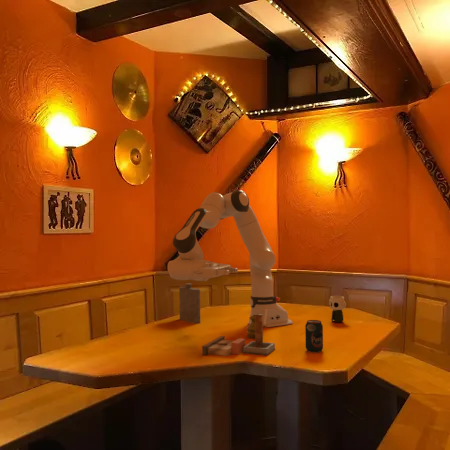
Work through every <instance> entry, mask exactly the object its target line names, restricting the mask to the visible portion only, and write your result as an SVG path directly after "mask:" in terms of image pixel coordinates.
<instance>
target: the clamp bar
mask: <svg viewBox="0 0 450 450" xmlns="http://www.w3.org/2000/svg"><path fill="white" fill-rule="evenodd" d="M221 340H226V339H225V336H224V335H220V336H219V337H217V338H214V339H212V340H210V341H209V342H207V343H205V344H203V345H202V346H201V347H202V349H201V350H202V356H207V355H209V354H208V348H209V347H211V346H212V345H214V344H216V343H218V342H220V341H221Z"/></svg>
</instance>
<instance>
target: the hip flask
mask: <svg viewBox="0 0 450 450" xmlns="http://www.w3.org/2000/svg"><path fill="white" fill-rule="evenodd" d="M192 285H193V283H190V282H189V283H184V286H179V289H178V291H179V293H178V294H179V321H182V322H186V323H190V324H201V289H200V288H194V287H192Z"/></svg>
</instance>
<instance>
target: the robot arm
mask: <svg viewBox="0 0 450 450" xmlns="http://www.w3.org/2000/svg"><path fill="white" fill-rule="evenodd" d="M230 217H233V218H234V221H235V225H236V228H237V230H238V233H239V235H240V237H241V239H242V242H243V244H244V245H245V247H246V249H247V251H248V253H249V255H248V260H249V261H248V263H249V270H250V271H249V273H250V283H251V284H250V285H251V287H250V288H251V295H250V301H249V302H250V316H252V315H255V314H262V315H263V327H266V328H271V327H278V326H280V327H281V326H288V325H293V324H294V323H293V320H291V319H289V314H288V311H287V310H286V309H284V307H282V306H281V305H279V304H278V303H277V302H279V301H280V300H281V297H278V296H275V295H274V279H273V276H272V275H273V274H272V268H273V267H274V265H276V264H275V263H276V256H275V253H274V251H273V250H272V249H273V248H272V247H271V245H270V243H269V241H268V240H267V237H266V236H265V234H264V232H263V230H262V227H261V225H260V221H259V220H258V217H257V215H256V213H255V212H254V210H253V208H252V207H251V205H250V199H249V197H248V194H247V193H246V192H245V191H243V190H242V189H241V190H234V191H232V192H227V193H225V194H224V195H222V194H221V193H218V192H210V193H209V194H207V195H206V197H205V198H204V199H203V201H202V202H201V204H200V206H199V208H196V209H195V210H194V211H193V212H192V213H191V214H190V216H189V217H188V219H187V220H186V221H185V223H184V224H183V226H182V227H181V228H180V230H179V231H177V232H176V234H175V235H174V237H173V239H172V245H173V247H174V248H175V249H176V251H177V253H178V256H177V257H176V258H174V259H173V260H169V261H168V262H167V269H166V270H167V273H168V276H169V277H170V278H171V279H173V280H177V281H191V280H192V281H195V282H196V281H197V282H207V281H208V280H209V279H211V278H212V279H213V278H217V277H220V276H228V275H230V274H231V273H232V274H235V273H238V272H239V268H237V267H232V265H231V264H228V263H227V264H226V263H220V262H218V263H216V262H215V261H209V260H208V259H205V255H204V251H203V250H202V247H201V246H200V244H199V241H198V239H197V233H196V232H197V231H198V229H199V227H201V228H203V229H214V228H216V226H217V225H218V224H219V222H220V220H224V219H227V218H230ZM250 316H249V317H250ZM251 323H252V321H251V319H249V320H248V325H250V324H251Z"/></svg>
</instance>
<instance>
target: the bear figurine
mask: <svg viewBox="0 0 450 450" xmlns="http://www.w3.org/2000/svg"><path fill="white" fill-rule="evenodd" d="M328 305H329V307H330V309H331V310H332V311H331V322H334V323H341V322H344V314H343V313H344V312H343V310H344V309H345V308H346V307H347V301H345V296H342V295H331V296H330V297H329V299H328Z"/></svg>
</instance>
